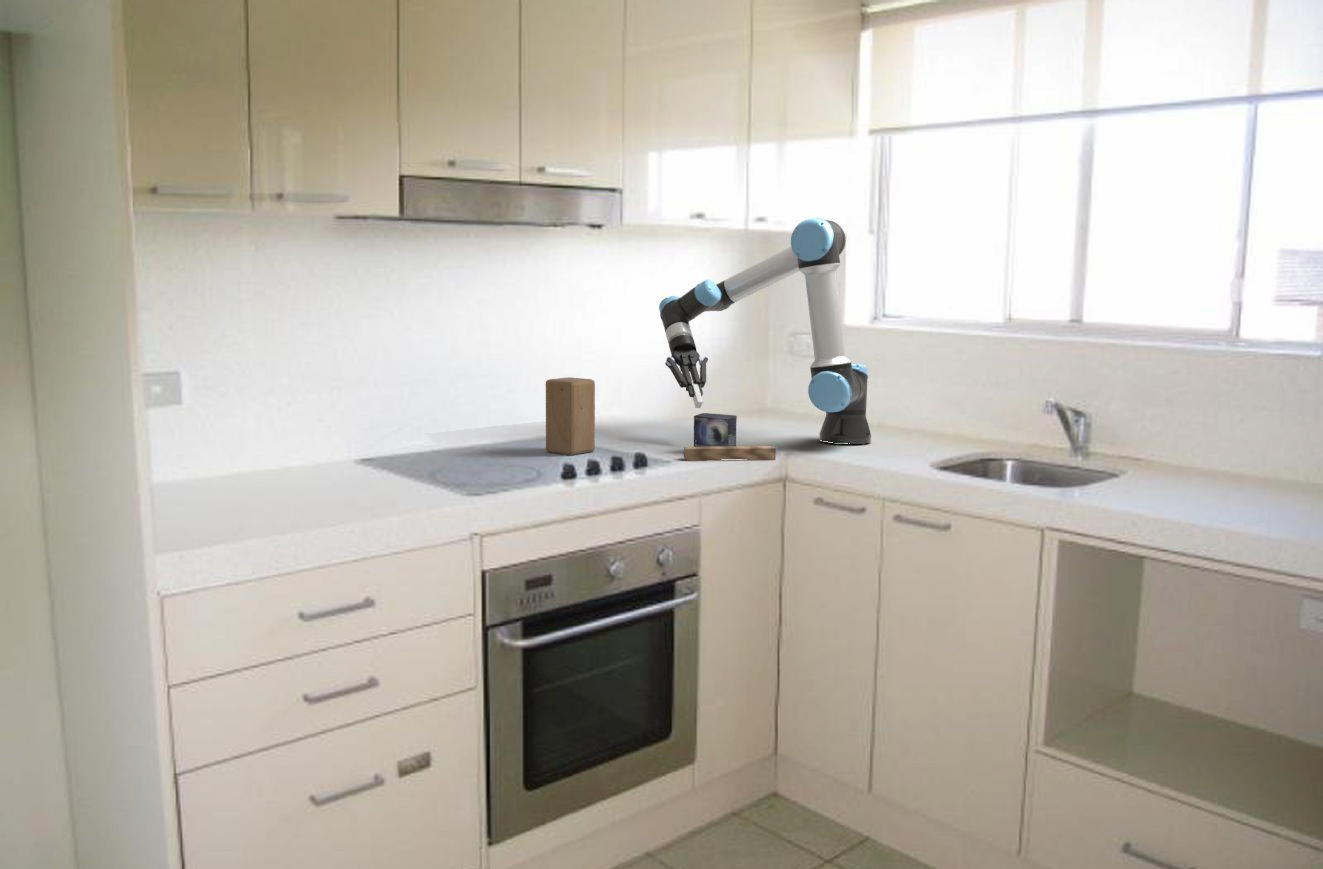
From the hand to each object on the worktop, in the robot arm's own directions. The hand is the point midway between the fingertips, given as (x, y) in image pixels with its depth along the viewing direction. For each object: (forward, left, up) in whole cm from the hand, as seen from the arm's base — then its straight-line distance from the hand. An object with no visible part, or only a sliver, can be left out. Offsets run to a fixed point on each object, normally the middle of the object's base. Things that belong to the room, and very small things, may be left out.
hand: (699, 405), depth 312 cm
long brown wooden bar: (-1, +22, -12) cm, 25 cm away
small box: (-1, +11, -12) cm, 16 cm away
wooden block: (+37, 0, -12) cm, 39 cm away
